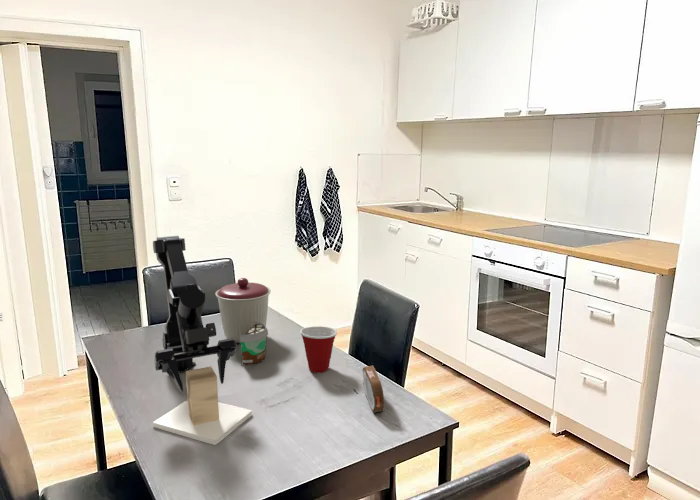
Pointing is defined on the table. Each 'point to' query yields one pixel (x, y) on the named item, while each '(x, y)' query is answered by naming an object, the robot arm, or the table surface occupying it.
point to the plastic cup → (318, 347)
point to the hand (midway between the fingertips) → (202, 387)
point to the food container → (254, 344)
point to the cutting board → (205, 432)
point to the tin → (373, 389)
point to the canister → (242, 307)
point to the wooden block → (202, 395)
